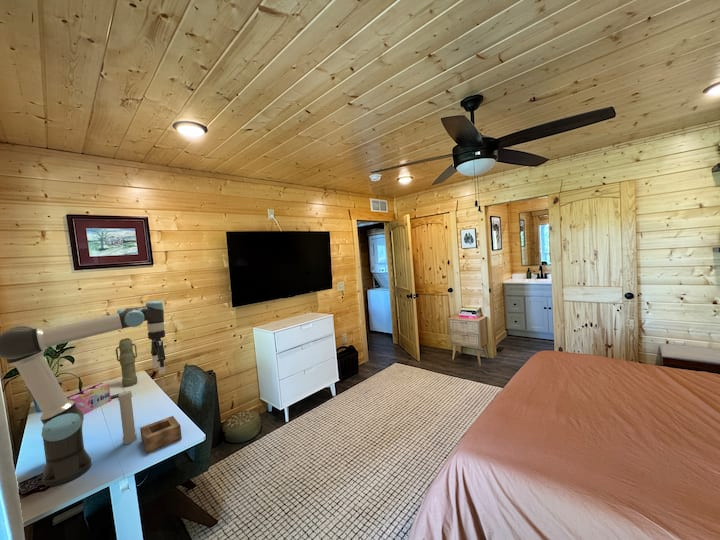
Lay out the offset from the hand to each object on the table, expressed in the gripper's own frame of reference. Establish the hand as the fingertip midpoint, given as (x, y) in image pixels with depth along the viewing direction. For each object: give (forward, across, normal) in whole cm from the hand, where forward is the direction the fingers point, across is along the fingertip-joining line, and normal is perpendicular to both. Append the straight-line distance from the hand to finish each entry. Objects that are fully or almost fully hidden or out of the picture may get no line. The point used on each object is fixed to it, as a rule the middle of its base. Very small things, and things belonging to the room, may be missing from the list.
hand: (159, 370), depth 161 cm
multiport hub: (+31, +69, +11) cm, 77 cm away
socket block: (+30, -16, +4) cm, 34 cm away
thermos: (+30, +87, +2) cm, 92 cm away
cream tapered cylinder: (+30, -3, +15) cm, 34 cm away
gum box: (+31, +62, +25) cm, 74 cm away
